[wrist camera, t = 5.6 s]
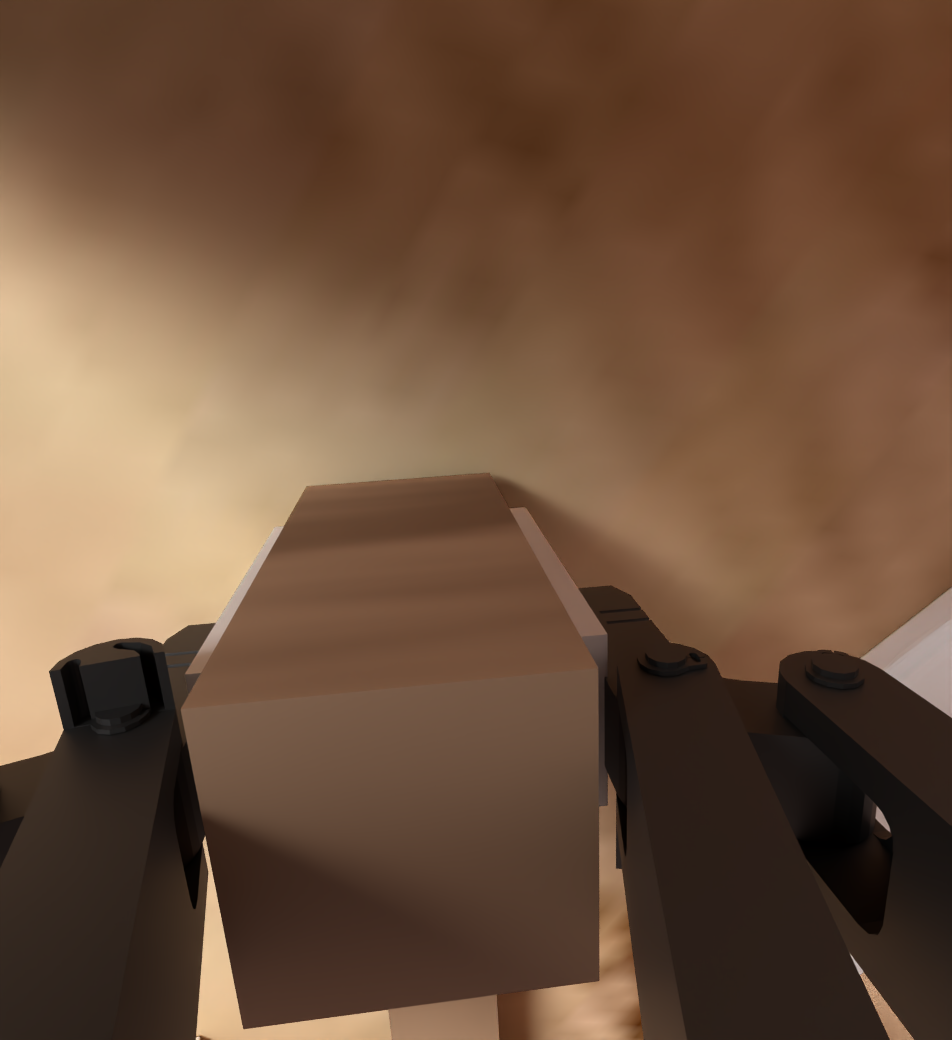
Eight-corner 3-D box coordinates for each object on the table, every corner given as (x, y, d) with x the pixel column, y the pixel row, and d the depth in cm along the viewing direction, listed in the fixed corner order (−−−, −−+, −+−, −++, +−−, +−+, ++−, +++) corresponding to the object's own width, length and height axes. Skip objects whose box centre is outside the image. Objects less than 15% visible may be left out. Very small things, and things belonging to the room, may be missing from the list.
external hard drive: (667, 789, 20) (1039, 498, 18) (819, 943, 22) (1161, 696, 20) (689, 830, 18) (1099, 515, 17) (850, 992, 20) (1224, 728, 19)
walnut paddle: (306, 486, 15) (179, 709, 7) (489, 472, 15) (597, 667, 7) (388, 1137, 21) (377, 1714, 12) (520, 1117, 21) (601, 1665, 13)
